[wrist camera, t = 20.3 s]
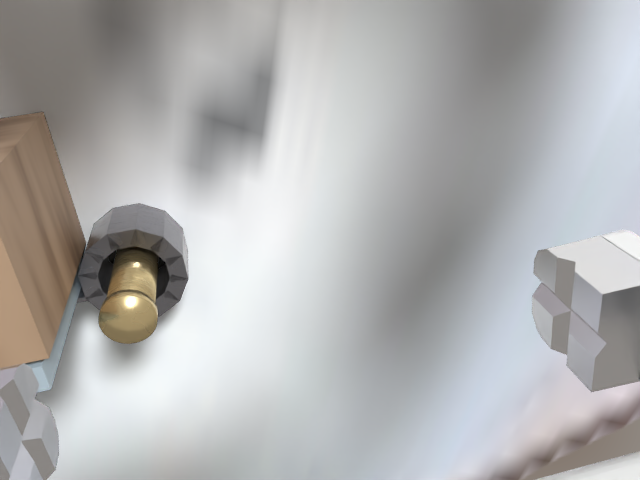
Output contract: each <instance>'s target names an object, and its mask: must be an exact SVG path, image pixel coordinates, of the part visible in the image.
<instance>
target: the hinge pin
mask: <svg viewBox="0 0 640 480" xmlns="http://www.w3.org/2000/svg"><path fill="white" fill-rule="evenodd" d="M158 260H159V256H158V255H157V254H156V253H155V252H154V251H151V250H148V249H144V248H141V247H137V246H132V247H127V248H122V249H117V251H116V255H115V260H114V265H113V269H112V274H111V279H110V283H109V288H108V293H107V297H106V299H105V300H104V302H103V303H102V306H101V309H100V313H99V326H100V328H101V330H102V332H103V333H104V334H105V335H106V336H107V337H108V338H110V339H111V340H113V341H116V342H119V343H125V344H131V343H137V342H140V341H143V340H145V339H146V338H148V337H149V336H150V335H151V334H152V333H153V332H154V330H155V328H156V326H157V320H158V309H157V306H156V304H155V301H156V287H157V274H158Z"/></svg>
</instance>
